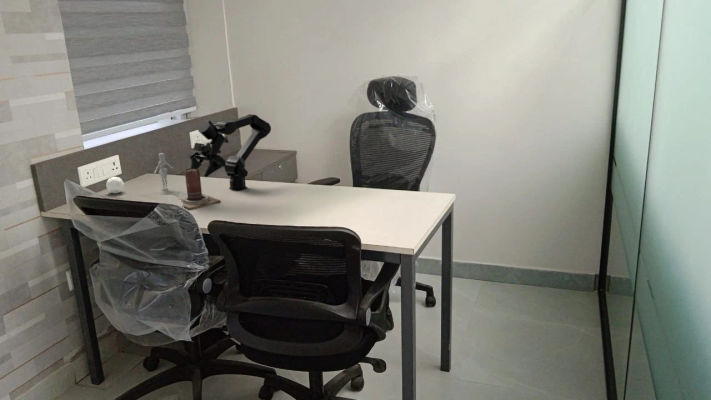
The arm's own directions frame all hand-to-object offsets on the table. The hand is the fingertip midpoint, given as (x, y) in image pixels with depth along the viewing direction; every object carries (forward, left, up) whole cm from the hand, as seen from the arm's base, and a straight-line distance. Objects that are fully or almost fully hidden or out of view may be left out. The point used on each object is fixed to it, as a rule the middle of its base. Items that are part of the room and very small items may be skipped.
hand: (198, 175), depth 245 cm
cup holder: (+2, +1, -12) cm, 12 cm away
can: (+2, 0, -11) cm, 12 cm away
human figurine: (+2, -29, -12) cm, 32 cm away
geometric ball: (+20, -43, -12) cm, 49 cm away
